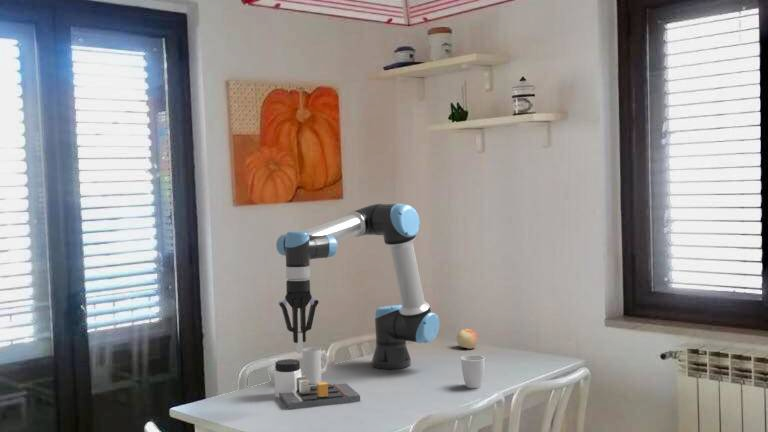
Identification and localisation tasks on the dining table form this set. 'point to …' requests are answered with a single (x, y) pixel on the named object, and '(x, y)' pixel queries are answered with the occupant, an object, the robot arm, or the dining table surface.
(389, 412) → the dining table surface
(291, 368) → the jar
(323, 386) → the handle
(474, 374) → the cup
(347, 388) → the panel
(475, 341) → the apple
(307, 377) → the mug
